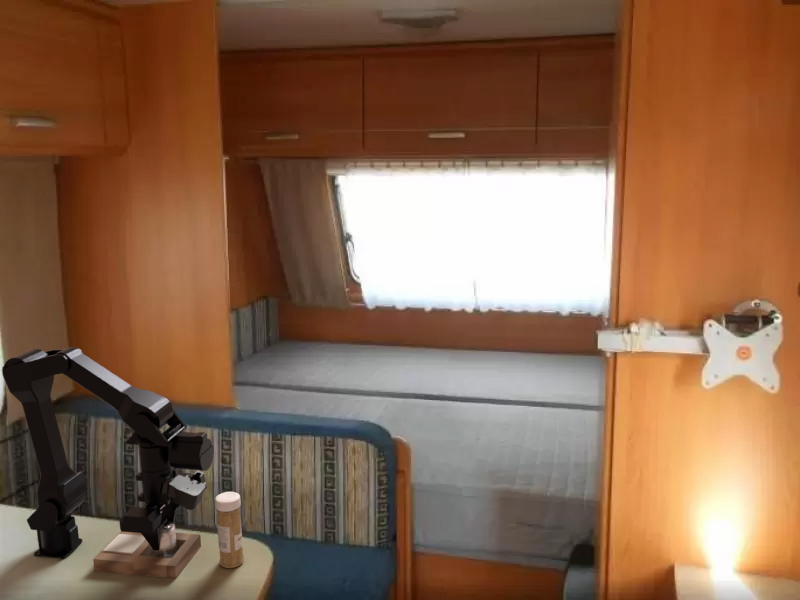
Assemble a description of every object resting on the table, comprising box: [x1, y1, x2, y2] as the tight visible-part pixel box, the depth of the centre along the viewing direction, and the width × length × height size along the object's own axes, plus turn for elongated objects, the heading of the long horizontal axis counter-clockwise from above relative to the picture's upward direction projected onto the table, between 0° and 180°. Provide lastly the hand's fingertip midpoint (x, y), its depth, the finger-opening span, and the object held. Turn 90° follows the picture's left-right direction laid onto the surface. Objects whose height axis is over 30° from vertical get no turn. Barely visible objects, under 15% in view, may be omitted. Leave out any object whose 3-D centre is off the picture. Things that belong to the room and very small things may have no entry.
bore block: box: [92, 530, 202, 579], centre depth 144 cm, size 16×11×3 cm
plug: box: [150, 521, 177, 558], centre depth 143 cm, size 5×5×7 cm
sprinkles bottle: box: [214, 491, 245, 569], centre depth 142 cm, size 5×5×14 cm
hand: (162, 542), depth 143 cm, fingers closed on plug, 5 cm apart
